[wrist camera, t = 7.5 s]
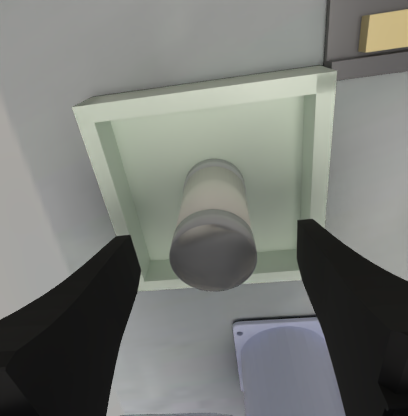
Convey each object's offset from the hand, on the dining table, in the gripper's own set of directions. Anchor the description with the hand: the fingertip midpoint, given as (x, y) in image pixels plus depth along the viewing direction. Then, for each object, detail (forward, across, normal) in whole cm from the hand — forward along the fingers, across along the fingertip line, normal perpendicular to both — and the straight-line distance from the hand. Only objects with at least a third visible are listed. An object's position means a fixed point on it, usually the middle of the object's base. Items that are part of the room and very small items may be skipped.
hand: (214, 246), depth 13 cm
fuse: (+5, 0, 0) cm, 5 cm away
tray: (+6, 0, 0) cm, 6 cm away
